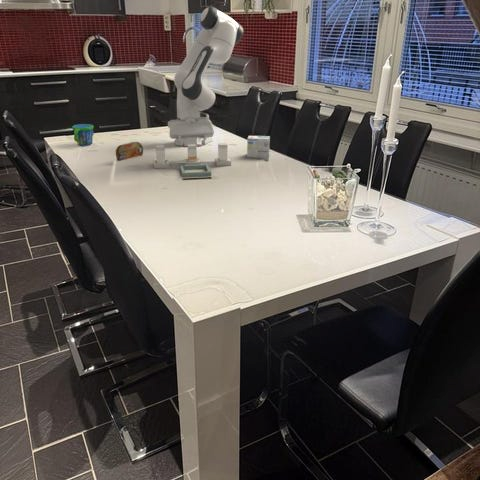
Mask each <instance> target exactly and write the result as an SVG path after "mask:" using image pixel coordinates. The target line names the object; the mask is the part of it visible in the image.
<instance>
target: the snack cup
mask: <svg viewBox="0 0 480 480" xmlns="http://www.w3.org/2000/svg"><path fill="white" fill-rule="evenodd" d="M71 127H72V131H73V132H74V133H73V134H74V135H73V140H74V142H76V143H77V145H78V146H80V147H87V146H88V147H89V146H91V145H93V141H94V140H93V137H94V134H95V133H94V128H95V127H94V125H93V124H89V123H80V124H74V125H73V126H71Z"/></svg>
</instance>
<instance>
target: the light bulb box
mask: <svg viewBox="0 0 480 480" xmlns="http://www.w3.org/2000/svg"><path fill="white" fill-rule="evenodd" d="M270 139H271V136H270V135H268V136H267V135H248V137H247V141H246V143H247V147H246V148H247V149H246V150H247V151H246V152H247V153H246V158H260V159H262V161H269V159H270V143H271V142H270V141H271V140H270Z"/></svg>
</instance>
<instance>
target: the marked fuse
mask: <svg viewBox="0 0 480 480" xmlns="http://www.w3.org/2000/svg"><path fill="white" fill-rule="evenodd" d="M186 147H187V159H188V162H197V146H196V144H187V146H186Z"/></svg>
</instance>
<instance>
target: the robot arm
mask: <svg viewBox="0 0 480 480" xmlns="http://www.w3.org/2000/svg"><path fill="white" fill-rule="evenodd" d="M199 23H200V26H202V29H201V30H200V31H199V33H198V34H197V36H196V38H195V40H194V42H193V44H192V45H191V48H190V49H189V51H188V53H187V54H186V56H185V58H184V60H183V61H182V62H181V65H180V66H179V67H178V70H177V71H176V73H175V75H174V78H173V81H174V85H175V87H176V89H177V91H176V94H177V95H176V119H170V120H169V121H168V122H167V126H168V129H169V137H170V138H169V139H171V140H174V142H175V145H177V146H181V147H187V144H196V147H202V146H206V145H207V144H209V143H211V142H213V137H214V133H215V131H214V126H213V123H212V121H211V119H210V115H209V114H208V113H205V112H204V111H206V110H208V109H210V108H212V107H213V106H214V104H215V102H216V99H217V98H216V94H215V92H214V91H213V90H212V89H211V88H210V87H208V86H207V84H206V83H204V80H203V76H204V74H205V72H206V70H207V68H208V66H209V65H210V63H211V64H214V65H224V64H226V63H227V62H228V61H229V60H230V59H231V56H232V53H233V51H234V47H235V46H236V45H237V44H238V43H240V41H241V39H242V38H243V35H244V28H243V26H242V25H241V24H240V23H239V22H237V21H236V20H234V19H233V18H232V17H231V16H229V15H228V14H226V13H224V12H223V11H220V10H219V9H217V7H214V6H211V5H210V6H207V7H206V8H204V10H203V11H202V12H201V14H200V18H199Z"/></svg>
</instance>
